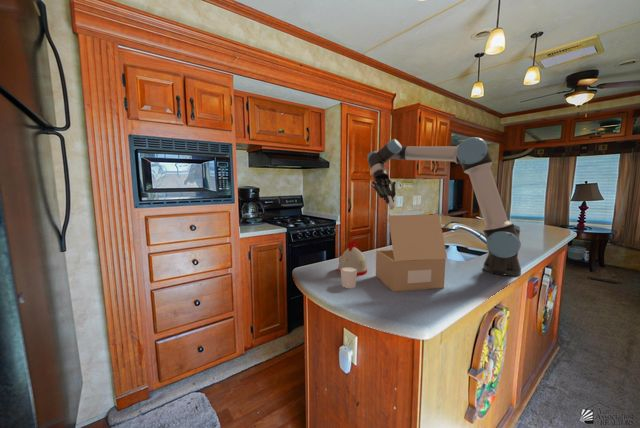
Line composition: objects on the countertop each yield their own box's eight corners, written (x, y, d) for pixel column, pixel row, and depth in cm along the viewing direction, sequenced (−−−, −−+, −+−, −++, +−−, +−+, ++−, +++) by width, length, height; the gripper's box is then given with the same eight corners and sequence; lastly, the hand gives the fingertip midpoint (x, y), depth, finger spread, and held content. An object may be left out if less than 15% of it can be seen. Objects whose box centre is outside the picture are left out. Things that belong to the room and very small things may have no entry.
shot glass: (355, 289, 105) (355, 272, 104) (338, 287, 107) (338, 270, 107) (358, 283, 111) (358, 267, 111) (342, 281, 114) (343, 266, 113)
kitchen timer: (332, 272, 126) (333, 241, 125) (346, 265, 138) (346, 237, 136) (359, 278, 119) (360, 245, 117) (371, 270, 130) (372, 240, 128)
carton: (375, 276, 121) (376, 250, 120) (420, 273, 125) (421, 248, 123) (393, 291, 103) (394, 261, 102) (444, 288, 107) (445, 259, 106)
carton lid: (388, 216, 107) (389, 215, 106) (437, 215, 110) (439, 214, 109) (394, 261, 102) (395, 260, 101) (446, 258, 105) (447, 258, 105)
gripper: (389, 179, 145) (402, 212, 131) (366, 179, 143) (377, 212, 129) (393, 168, 140) (407, 202, 125) (370, 168, 138) (381, 202, 123)
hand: (392, 207), depth 127 cm, fingers closed
